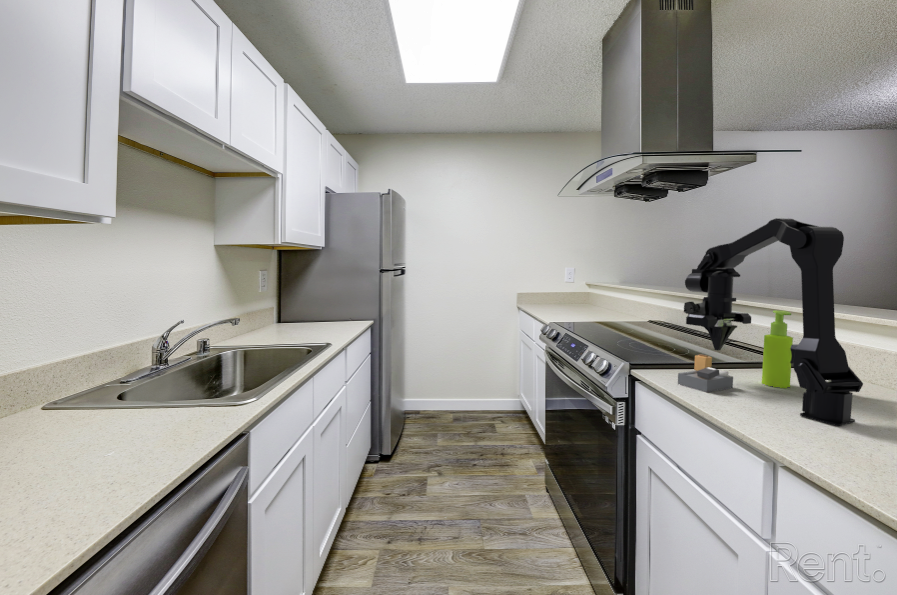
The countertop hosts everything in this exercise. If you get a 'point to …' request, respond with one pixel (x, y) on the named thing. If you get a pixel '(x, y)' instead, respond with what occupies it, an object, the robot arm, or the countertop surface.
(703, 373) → the block
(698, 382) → the panel
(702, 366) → the orange slider
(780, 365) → the soap dispenser
